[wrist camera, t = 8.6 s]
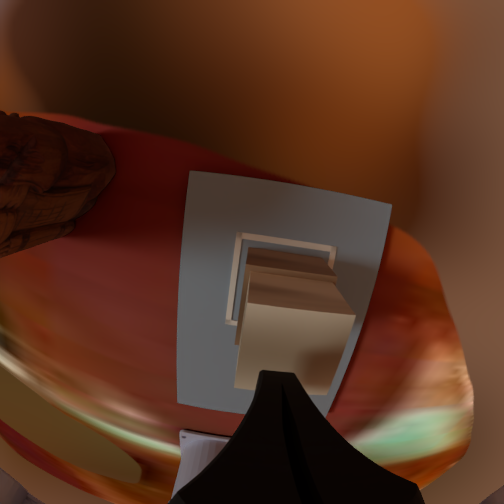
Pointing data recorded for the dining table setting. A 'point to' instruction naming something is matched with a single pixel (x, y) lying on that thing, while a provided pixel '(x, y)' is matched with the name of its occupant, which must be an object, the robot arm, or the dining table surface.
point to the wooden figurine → (47, 179)
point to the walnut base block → (281, 271)
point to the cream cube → (292, 331)
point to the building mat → (234, 260)
